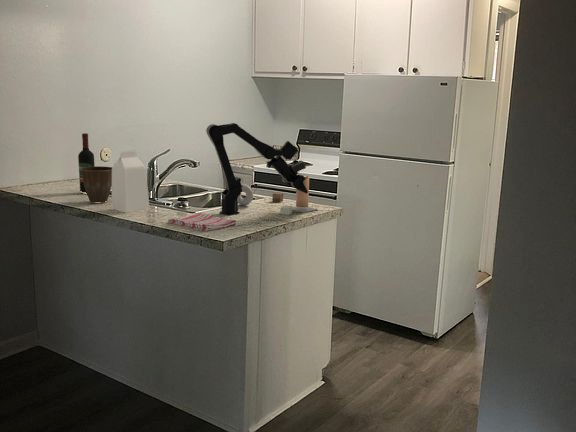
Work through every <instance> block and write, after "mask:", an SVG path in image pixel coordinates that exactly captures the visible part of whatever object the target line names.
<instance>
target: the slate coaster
mask: <svg viewBox="0 0 576 432" xmlns="http://www.w3.org/2000/svg"><path fill="white" fill-rule="evenodd" d="M318 211H319V209H318V208H314V207H309V206H308V207H296V206H292V212H295V213H300V214H306V213H311V212H318Z"/></svg>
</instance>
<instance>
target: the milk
mask: <svg viewBox="0 0 576 432" xmlns="http://www.w3.org/2000/svg"><path fill="white" fill-rule="evenodd" d="M119 155H120V156H119V158H117V160H116V161H115V163H114V164H113V166H112V186H111V209H112V208H113V209H116V210H120V211H123V212H131V213H133V212H132V211H137V212H141V211H140V210H144V211H148V210H149V211H150V201H149V189H148V179H147V168H146V166H145V165H144V163H143V162H142V160H140V158H139V157H138V155H137V152H136V151H135V150H121V153H120V154H119ZM116 210H115V211H116ZM123 212H122V213H123Z"/></svg>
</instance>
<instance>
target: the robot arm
mask: <svg viewBox="0 0 576 432" xmlns="http://www.w3.org/2000/svg"><path fill="white" fill-rule="evenodd" d="M205 131H206V132H205V133H206V135H207V137H208V138H209V140H210V142H211V143H212V145H213V147H214V150H215V152H216V155H217V159H218V161H219V165H220V168H221V170H222V173H223V175H224V183H225V184H224V185H225V189H223V191H222V192H221V193H220V195H221V197H222V199H221V211H219V214H223V215H227V216H230V215H237V214H240V211H239V204H238V202H237V198H238V196H239V195H240V194H241V195H242V193H243V192H242V188H241V187H243V186H242V183H241V177H238V176H236V175H235V174H234V171H233V168H232V165H231V162H230V159H229V157H228V153H227V151H226V147H225V144H224V136H226V135H229V134H234V135H236V136H237V137H238V138H240V139H241V140H243V141H244V142H245V143H247V144H248V145H250V146H251V147H253V149H254V150H255V151H256V152H257V153H258V154H259V155H260V156H261V157H262V158H264V159H267V161H266V168H267V169H270V168H274V170H275V171H276V172H277V173H278V175H279V176H281V181H282V182H283V183H285V184H286V185H288V186H290V187H292V188H293V189H295V190H296V189H297V190H300V191H302V192H304V193H306V194H307V193H308V191H307V189H306V187H305V185H304V183H303V182H304V180H305V179H306V178H305V177H304V176H303V174H299V172H300V171H302V170H305V169H306V168H307V167H306V164H305V162H304V161H303V160H297V159H293V158H294V157H295V156H296V155H297V153H299V152H300V151H299V149H298V148H297V146H295V145H294V144H293V143H291V142H290V141H289V140H286V141H285V142H284V144H283V145H282V146H281V147H280V148H275V147H274V146H272V145H269V144H267V143H265V142H263V141H261V140H259V139H257V138H256V137H255V136H253V135H252V134H251V133H249V132H248V131H246V130H245V129H244V128H242V127H241V126H240V125H238V124H237V123H235V122H231V123H227V124H219V125H217V124H215V123H212V124H209V125H208V126H207V127H206V130H205ZM292 159H293V160H292ZM291 160H292V164H289V163H288V162H287V161H291Z"/></svg>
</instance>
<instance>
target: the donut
mask: <svg viewBox="0 0 576 432" xmlns="http://www.w3.org/2000/svg"><path fill="white" fill-rule="evenodd" d="M241 185H242V186H243V187H241V188H242V192H241V194H240V195H239V196H238V198H237V202H238V205H240V206H244V207H246V206H248V205H250V204H251V203H252V202H253V200H254V192H253V190H252V189H251V187H250V186H249V185H248V184H244V183H243V184H242V183H241ZM243 192H244V193H245V198H243V197H242V193H243Z"/></svg>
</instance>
